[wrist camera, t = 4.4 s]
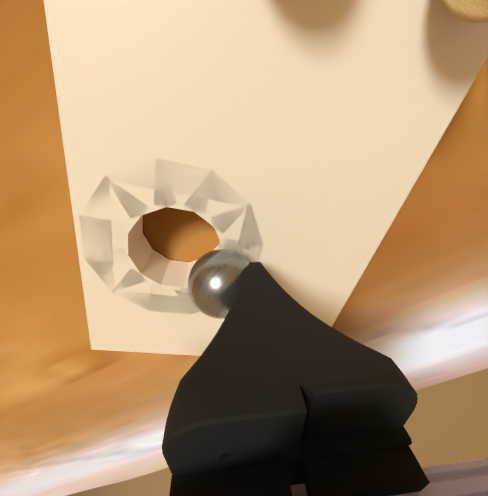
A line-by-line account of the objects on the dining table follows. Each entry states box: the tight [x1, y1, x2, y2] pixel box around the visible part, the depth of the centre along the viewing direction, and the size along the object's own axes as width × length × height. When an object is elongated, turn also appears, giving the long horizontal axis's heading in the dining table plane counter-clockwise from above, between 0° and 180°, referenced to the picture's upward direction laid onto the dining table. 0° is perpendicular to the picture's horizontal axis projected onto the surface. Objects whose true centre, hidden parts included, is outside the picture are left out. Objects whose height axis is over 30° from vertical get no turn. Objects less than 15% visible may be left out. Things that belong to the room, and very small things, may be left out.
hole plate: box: [44, 0, 488, 356], centre depth 11 cm, size 15×24×2 cm, turn 167°
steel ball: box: [188, 249, 249, 319], centre depth 11 cm, size 3×3×3 cm
